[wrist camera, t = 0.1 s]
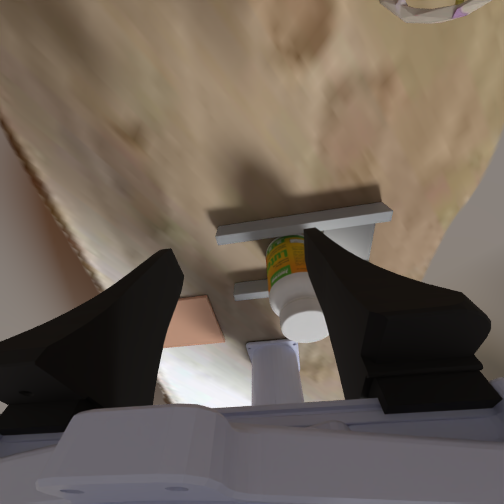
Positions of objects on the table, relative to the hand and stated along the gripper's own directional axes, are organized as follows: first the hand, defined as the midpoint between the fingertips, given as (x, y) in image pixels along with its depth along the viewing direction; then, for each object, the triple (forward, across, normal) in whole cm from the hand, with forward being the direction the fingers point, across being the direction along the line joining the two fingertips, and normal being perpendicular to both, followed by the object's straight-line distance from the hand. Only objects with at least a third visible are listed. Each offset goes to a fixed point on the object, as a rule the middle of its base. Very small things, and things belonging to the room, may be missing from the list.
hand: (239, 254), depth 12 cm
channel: (+10, -5, +8) cm, 14 cm away
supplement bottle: (+10, -4, +8) cm, 13 cm away
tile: (+10, +12, +18) cm, 24 cm away
